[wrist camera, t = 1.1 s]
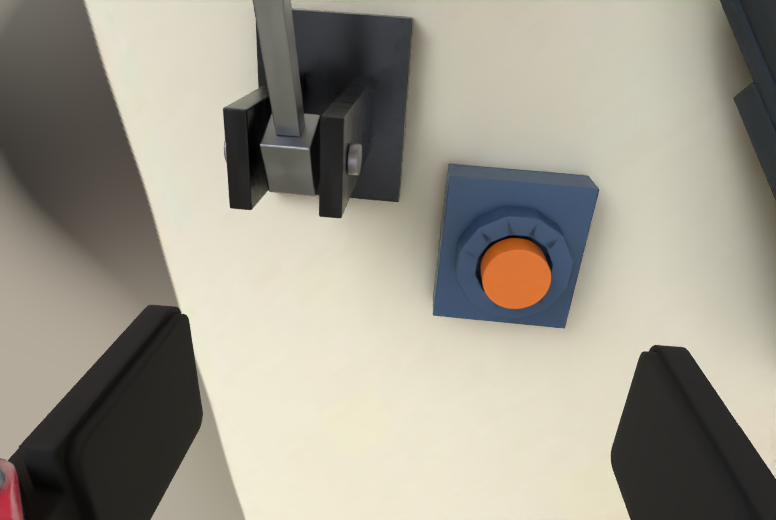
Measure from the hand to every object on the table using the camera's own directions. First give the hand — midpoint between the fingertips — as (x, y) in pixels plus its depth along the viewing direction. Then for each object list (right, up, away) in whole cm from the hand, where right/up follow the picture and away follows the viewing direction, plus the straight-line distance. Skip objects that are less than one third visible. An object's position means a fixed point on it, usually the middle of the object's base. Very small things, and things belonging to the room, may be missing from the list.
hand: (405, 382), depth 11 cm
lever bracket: (-4, +12, +23) cm, 26 cm away
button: (+7, +2, +23) cm, 24 cm away
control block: (+8, +4, +26) cm, 28 cm away
